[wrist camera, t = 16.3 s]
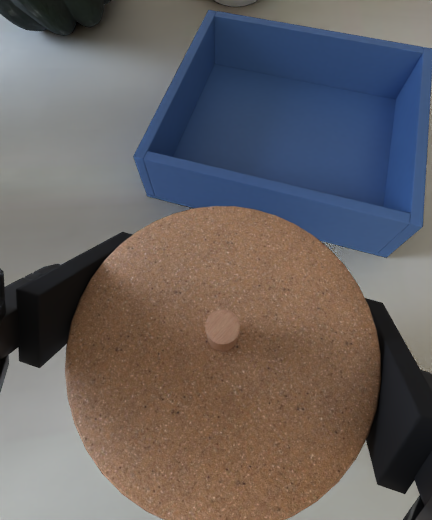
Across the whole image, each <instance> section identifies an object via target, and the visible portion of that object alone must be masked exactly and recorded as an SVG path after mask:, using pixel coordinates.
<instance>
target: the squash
mask: <svg viewBox="0 0 432 520" xmlns="http://www.w3.org/2000/svg"><path fill="white" fill-rule="evenodd" d="M109 1H111V0H0V14H1V15H3V16H4V17H5V18H6V19H8V20H9V21H11V22H12V23H14V24H15V25H17V26H19V27H21V28H23V29H26V30H33V31H44V30H46V29H48V30H49V31H51V32H54V33H56V34H59V35H68V34H70V33H71V32H72V31H73V30H74V28H75V25H76V21H77V22H78V23H80V24H81V25H84V26H86V27H92V26H94V25H96V24H98V22H99V21H100V20H101V17H102V13H103V7H104V4H107V3H108V2H109Z"/></svg>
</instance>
